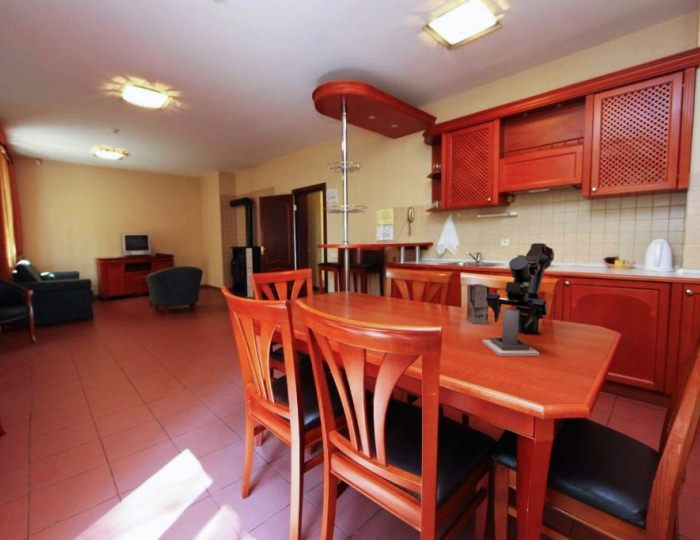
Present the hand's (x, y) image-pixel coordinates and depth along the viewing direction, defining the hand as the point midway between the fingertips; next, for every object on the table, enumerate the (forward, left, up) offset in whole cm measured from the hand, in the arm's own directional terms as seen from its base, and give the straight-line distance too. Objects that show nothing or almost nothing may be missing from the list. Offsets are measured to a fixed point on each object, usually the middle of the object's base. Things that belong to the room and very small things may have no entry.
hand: (509, 324), depth 111 cm
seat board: (-1, -1, -9) cm, 9 cm away
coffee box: (-4, -36, -9) cm, 37 cm away
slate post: (-1, -1, -8) cm, 8 cm away
